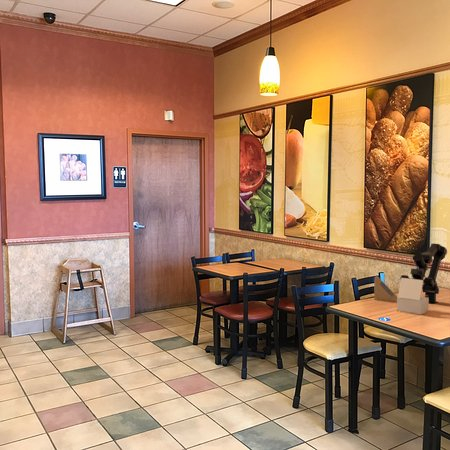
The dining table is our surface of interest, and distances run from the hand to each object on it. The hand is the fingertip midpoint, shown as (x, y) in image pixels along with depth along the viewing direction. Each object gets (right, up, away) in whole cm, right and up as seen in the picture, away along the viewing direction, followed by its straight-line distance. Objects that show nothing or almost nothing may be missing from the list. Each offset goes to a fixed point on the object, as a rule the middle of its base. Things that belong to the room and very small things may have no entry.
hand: (413, 292), depth 290 cm
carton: (0, -11, +1) cm, 11 cm away
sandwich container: (-5, -9, +30) cm, 32 cm away
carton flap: (-3, +2, -3) cm, 5 cm away
